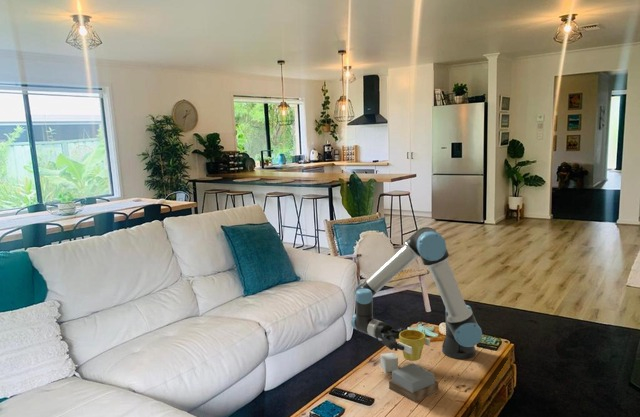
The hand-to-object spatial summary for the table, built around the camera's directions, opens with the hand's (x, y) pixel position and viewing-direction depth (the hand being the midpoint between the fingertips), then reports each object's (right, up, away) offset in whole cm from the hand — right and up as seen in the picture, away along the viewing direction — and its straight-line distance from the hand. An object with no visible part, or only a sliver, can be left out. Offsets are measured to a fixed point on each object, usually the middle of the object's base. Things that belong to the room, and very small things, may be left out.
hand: (420, 346), depth 182 cm
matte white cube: (-9, -17, +24) cm, 31 cm away
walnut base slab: (-1, -20, +6) cm, 21 cm away
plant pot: (-2, -6, +4) cm, 7 cm away
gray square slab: (-2, -16, +5) cm, 17 cm away
